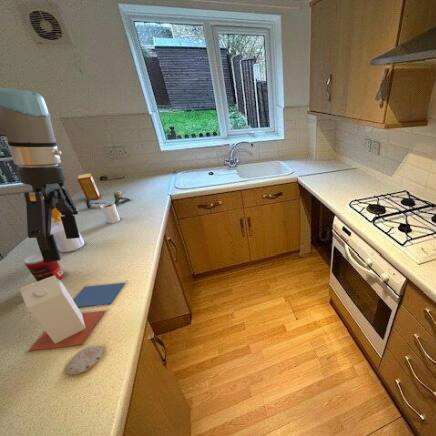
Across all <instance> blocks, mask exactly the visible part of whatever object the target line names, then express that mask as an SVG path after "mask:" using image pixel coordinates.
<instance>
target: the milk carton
mask: <svg viewBox="0 0 436 436" xmlns="http://www.w3.org/2000/svg"><path fill="white" fill-rule="evenodd" d="M18 290H19V292H20V295H21V297H22V299H23V302H24V304H25V307H26V308H27V309H28V311H29V313H31V315H32V316H33V317H34V319H35V320H36V321H37V322H38V324H39V325H40V327H41V328H42V329H43V330H44V332H45V331H46V333H47V334H48V335H49V336H50V338H51V339H52V340H53V342H54V343H55V344H56V343H58V342H60V341H62V340H64V339H66V338H68V337H70V336H72V335H74V334H76V333H78V332H80V331H82V330H84V329H85V324H84V320H83V316H82V314H81V313H82V312H81V310H80V309H79V308H78V307H77V306H76V304H75V302H74V301H73V300H74V298H73V297H72V296H71V294H70V293H69V292H68V289H67V288H66V286H65V285H64V284H63V282H62V279H61V280H59V279H57V278H56V277H55V275H54V276H51V277H49V278H46V279H43V280H41V281H38V282H37V281H36V282H33V283H30V284H27V285H25V286H21V287H20V288H19V287H18Z"/></svg>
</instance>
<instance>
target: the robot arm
mask: <svg viewBox="0 0 436 436" xmlns="http://www.w3.org/2000/svg"><path fill="white" fill-rule="evenodd" d="M0 137H4V138H5V137H6V139H7V144H8V149H9V152H10V154H11V158H12V161H13V164H14V165H16V166H17V168H16V172H17V175H18V178H19V182H20V183H21V184H23V185H27V186H31V189H32V191H25V192H24V193H23V195H24V199H25V204H26V205H25V206H26V223H27V225H26V226H27V237H28V239H36V242H37V245H38V248H39V252H40V251H41V254H42V257H43V260H44V262H52V261H57V262H59V261H61V259H62V258H61V255H60V253H59V248H58V246H57V245H56V242H55V239H54V235H53V234H50V233H51V228H52V221H53V220H52V219H53V218H52V210H53V209H54V208H56V209H57V210H58V211H59V212H60V213H61V214H60V215H61V216H60V218H61V220H62V224H63V227H64V231H65V234H66V238H67V239H73V238H79V237H80V235H81V234H80V235H79V233H80V231H79V227H78V223H77V220H76V216H77V215H79V210H77V207H76V205H75V202H74V201H73V199H72V197H71V195H70V193H69V191H68V189H67V185H66V183H65V181H66V180H67V179H66V174H65V170H64V167H63V166H62V165H59V164H61V163H62V160H61V155H62V151H61V150H58V145H57V140H56V136H55V133H54V129H53V125H52V120H51V113H50V112H49V109H48V107H47V103H46V101H45V98H44V97H43V95H41V94H40V93H39V92H35V91H29V90H22V89H16V88H15V89H14V88H7V87H6V88H3V87H0Z"/></svg>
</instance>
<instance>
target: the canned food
mask: <svg viewBox="0 0 436 436" xmlns="http://www.w3.org/2000/svg"><path fill="white" fill-rule="evenodd" d="M23 263H24V264H25V267H26V268H27V269H28V271H29V272H30V274H31V275H32V277H33V278H34V279H35V280H36V282H38V281H41V280H43V279H46V278H49V277H51V276H54V275H55V277H56V278H57V279H59V280H61V281H62V279H63V278H64V277H65V271H64V270H63V268H62V267H61V265H60V263H59V261H52V262H44V260H43V257H42V254H41V251H40V250H39V251H36V252H34V253H32V254H30V255H28V256H27V257H25V258H24V260H23Z"/></svg>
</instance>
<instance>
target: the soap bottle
mask: <svg viewBox="0 0 436 436" xmlns="http://www.w3.org/2000/svg"><path fill="white" fill-rule="evenodd" d="M61 215H62V214H61V213H60V212H59V211H58V210H57V209H56V208H54V209H53V210H52V219H53V220H52V222H53V224H54V225H53V226H51V233H50V234H53V235H54V239H55V242H56V245H57V249H58V251H60V252H61V253H70V252H73V251H76V250H79V249H81V248H82V247H84V245H85V240H84V239H83V237H82V234H81V233H80V232H79V235H80V237H79V238H73V239H67V238H66V234H65V231H64V227H63V224H62V220H61Z"/></svg>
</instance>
